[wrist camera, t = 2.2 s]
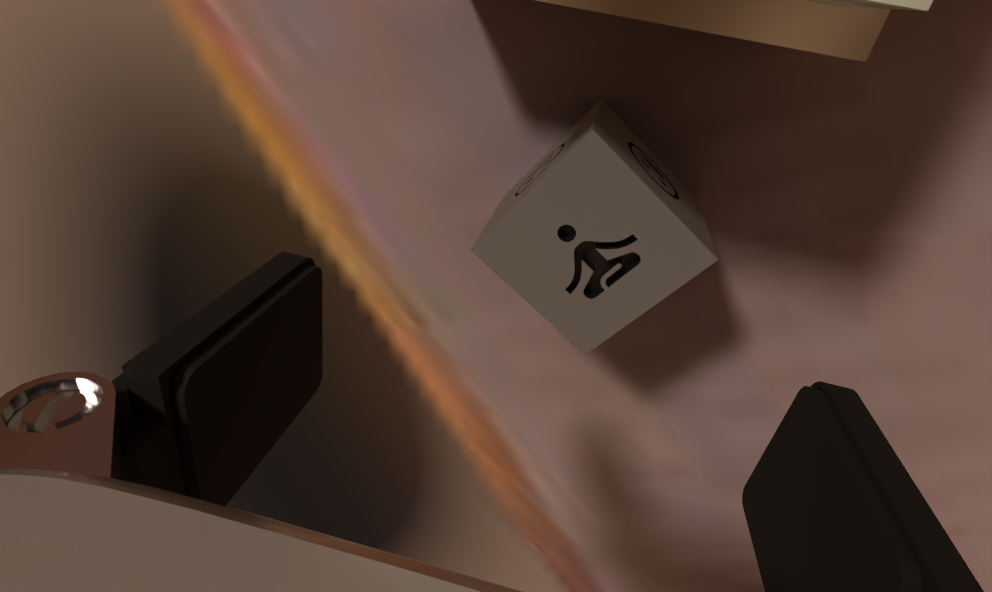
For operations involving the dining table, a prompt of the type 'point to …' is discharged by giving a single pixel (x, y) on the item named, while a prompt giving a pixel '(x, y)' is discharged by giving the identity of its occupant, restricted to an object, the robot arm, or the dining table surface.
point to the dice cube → (596, 231)
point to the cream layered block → (769, 20)
